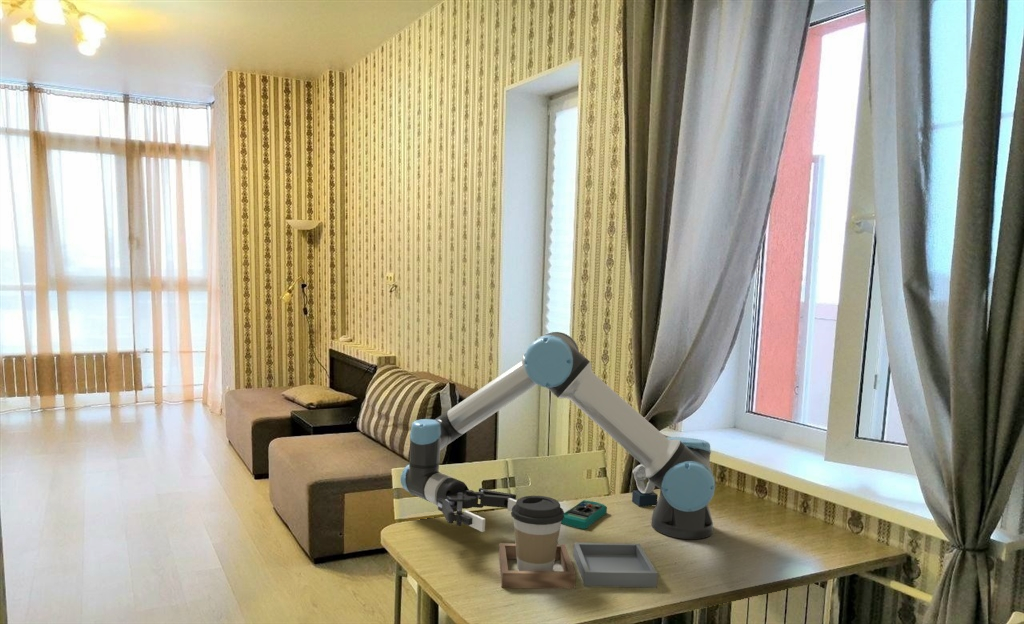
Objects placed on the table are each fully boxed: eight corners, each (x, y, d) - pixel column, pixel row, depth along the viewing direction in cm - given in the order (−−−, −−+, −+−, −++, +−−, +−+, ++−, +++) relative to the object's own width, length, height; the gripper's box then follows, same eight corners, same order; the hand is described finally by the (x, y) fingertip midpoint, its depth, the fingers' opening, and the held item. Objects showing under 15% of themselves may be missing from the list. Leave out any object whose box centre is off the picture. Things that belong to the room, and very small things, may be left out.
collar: (564, 557, 153) (565, 544, 153) (574, 588, 138) (575, 574, 138) (498, 556, 152) (499, 543, 152) (501, 587, 137) (502, 573, 137)
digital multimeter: (607, 514, 183) (608, 503, 183) (585, 531, 170) (585, 520, 170) (582, 508, 186) (583, 498, 186) (558, 525, 174) (559, 513, 173)
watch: (646, 498, 196) (648, 460, 195) (660, 507, 188) (662, 468, 188) (628, 499, 194) (630, 461, 194) (641, 509, 187) (644, 469, 186)
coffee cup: (541, 556, 153) (544, 490, 152) (572, 577, 143) (576, 507, 142) (498, 566, 147) (501, 498, 146) (527, 588, 137) (530, 515, 136)
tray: (638, 556, 155) (639, 543, 155) (656, 587, 140) (657, 573, 140) (573, 555, 154) (573, 542, 154) (584, 586, 139) (585, 572, 139)
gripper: (485, 497, 175) (544, 522, 160) (404, 518, 158) (462, 549, 143) (486, 468, 175) (546, 491, 160) (405, 487, 158) (464, 514, 142)
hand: (507, 518), depth 151 cm, fingers open, 13 cm apart
